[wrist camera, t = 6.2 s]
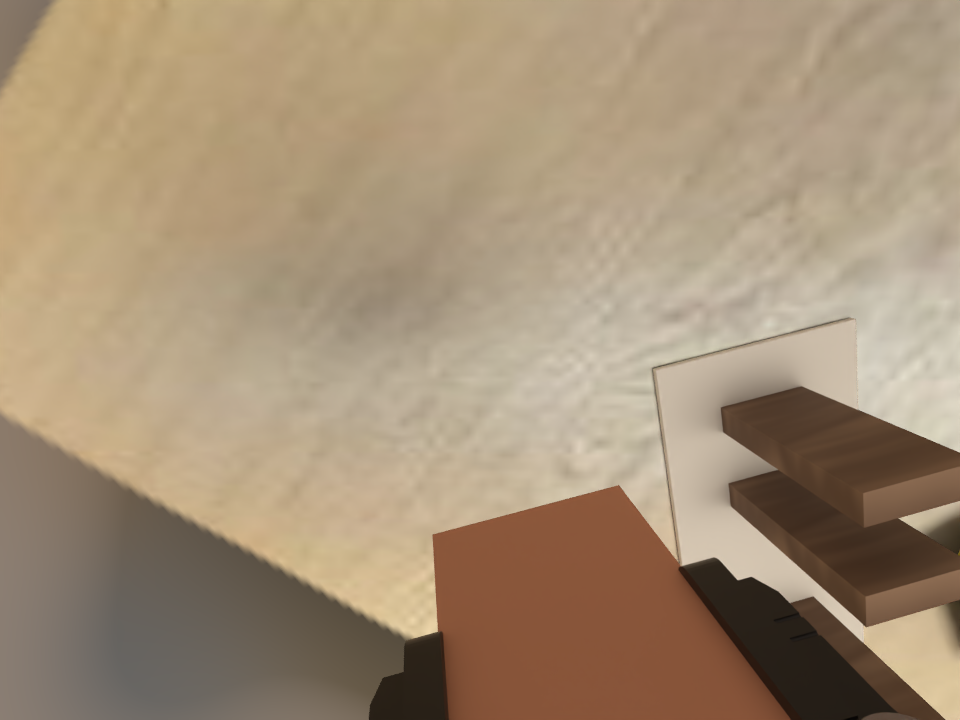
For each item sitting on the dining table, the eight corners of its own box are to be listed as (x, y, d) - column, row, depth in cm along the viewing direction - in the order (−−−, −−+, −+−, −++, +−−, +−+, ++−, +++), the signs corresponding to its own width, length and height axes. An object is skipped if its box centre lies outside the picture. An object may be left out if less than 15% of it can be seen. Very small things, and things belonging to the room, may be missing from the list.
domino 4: (741, 616, 34) (869, 769, 25) (813, 596, 35) (966, 739, 25) (743, 636, 35) (869, 793, 25) (814, 615, 35) (965, 763, 25)
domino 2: (720, 407, 30) (863, 493, 21) (801, 386, 31) (979, 461, 21) (723, 432, 31) (864, 527, 21) (802, 411, 31) (977, 495, 21)
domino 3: (728, 483, 32) (865, 596, 22) (805, 462, 32) (974, 564, 22) (730, 506, 32) (866, 627, 22) (806, 485, 32) (972, 595, 23)
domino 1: (432, 534, 13) (475, 1315, 4) (618, 484, 14) (1088, 1098, 4) (447, 585, 14) (517, 1400, 4) (626, 536, 14) (1070, 1199, 5)
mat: (652, 368, 30) (655, 370, 29) (850, 317, 30) (856, 319, 30) (700, 716, 37) (703, 721, 36) (860, 668, 37) (864, 673, 37)
